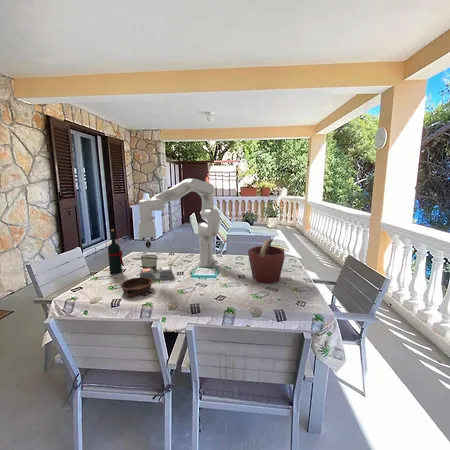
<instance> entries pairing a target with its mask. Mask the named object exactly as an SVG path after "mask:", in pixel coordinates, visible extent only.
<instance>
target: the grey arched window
mask: <svg viewBox="0 0 450 450" xmlns="http://www.w3.org/2000/svg"><path fill="white" fill-rule="evenodd" d="M140 260H141V267H142V269H148V268H150V269H152V268H153V272H155V271H157V263H158V262H157V261H158V260H159V259H158V256H157V255H156V254H151V253H150V254H144V255H141V256H140Z"/></svg>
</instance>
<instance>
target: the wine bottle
mask: <svg viewBox="0 0 450 450" xmlns="http://www.w3.org/2000/svg"><path fill="white" fill-rule="evenodd" d="M110 236H111V238H110V239H111V243H110V244H108V246H107V253H108V254H107V255H108V256H107V257H108V266H109V268H108V269H109V274H110V275H119V274H121V273H122V272H123V267H125V264H124V262H123V257H122V256H123V250H121V246H120V245H119V244H118V243H117V242H116V233H115V229H110Z"/></svg>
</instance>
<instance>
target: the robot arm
mask: <svg viewBox="0 0 450 450" xmlns="http://www.w3.org/2000/svg"><path fill="white" fill-rule="evenodd" d="M190 192H191V193H192V192H195V193H196V194H198V195H199V196H200V198H201V211H200V212H201V213H200V218H201V219H202V220H203V221H204V222H201V223H200V224H199V225H198V227H197V232H198V239H199V261H198V263H197V265H198V266H199V267H201V268H202V267H203V268H209V267H213V266H215V264H218V263H219V261H218V259H217V260H216V259H215V258H214V256H213V255H214V254H213V250H214V249H213V248H214V247H213V238H216V237H217V236H218V234H219V231H220V224H221V223H220V220H221V214H220V212H219V210H218V209H216V208H215V207H214V205H215V204H214V203H215V202H214V201H215V199H214V197H213V195H214V192H215V186H214V185H213V184H212V183H210V182H207V181H204V180H200V179H197V178H186V179H183V180H182V181H181V182H179V183H177V184H175V185H173V186H172V187H171V188H168V189H166V190H164V191H162V192H160V193H158V194H156V195H155V196H153V197H152V198H150V199H140V200H139V201H138V210H139V222H138V240H141V241H144V242H145V247H146V248H147V249H151V246H152V245H151V242H152V241H153V240H154V239H157V234H156V224H155V221H154V220H155V219H156V217H155V216H153V211H156V212H160V211H162V210H164V209H165V207H166V204H167V203H168V202H172V201H177V200H179V199H181V198H182V197H184V196H186V195H187V194H189V193H190Z"/></svg>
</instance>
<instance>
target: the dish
mask: <svg viewBox="0 0 450 450" xmlns="http://www.w3.org/2000/svg"><path fill="white" fill-rule="evenodd" d="M139 277H140V276H139ZM139 277H133V278H128V279H126V280H124V281H123V282H121V284H120V285H119V286H120V288H121V289H122V291H123V293H124V294H125V296H126V298H132V297H135V296H140V295H143V294H145V293H147V292H149V291H150V290H151V287H152V284H153V283H154V282H153V281H154V280H153V281H152V279H150V278H145V277H140V278H139Z"/></svg>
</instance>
